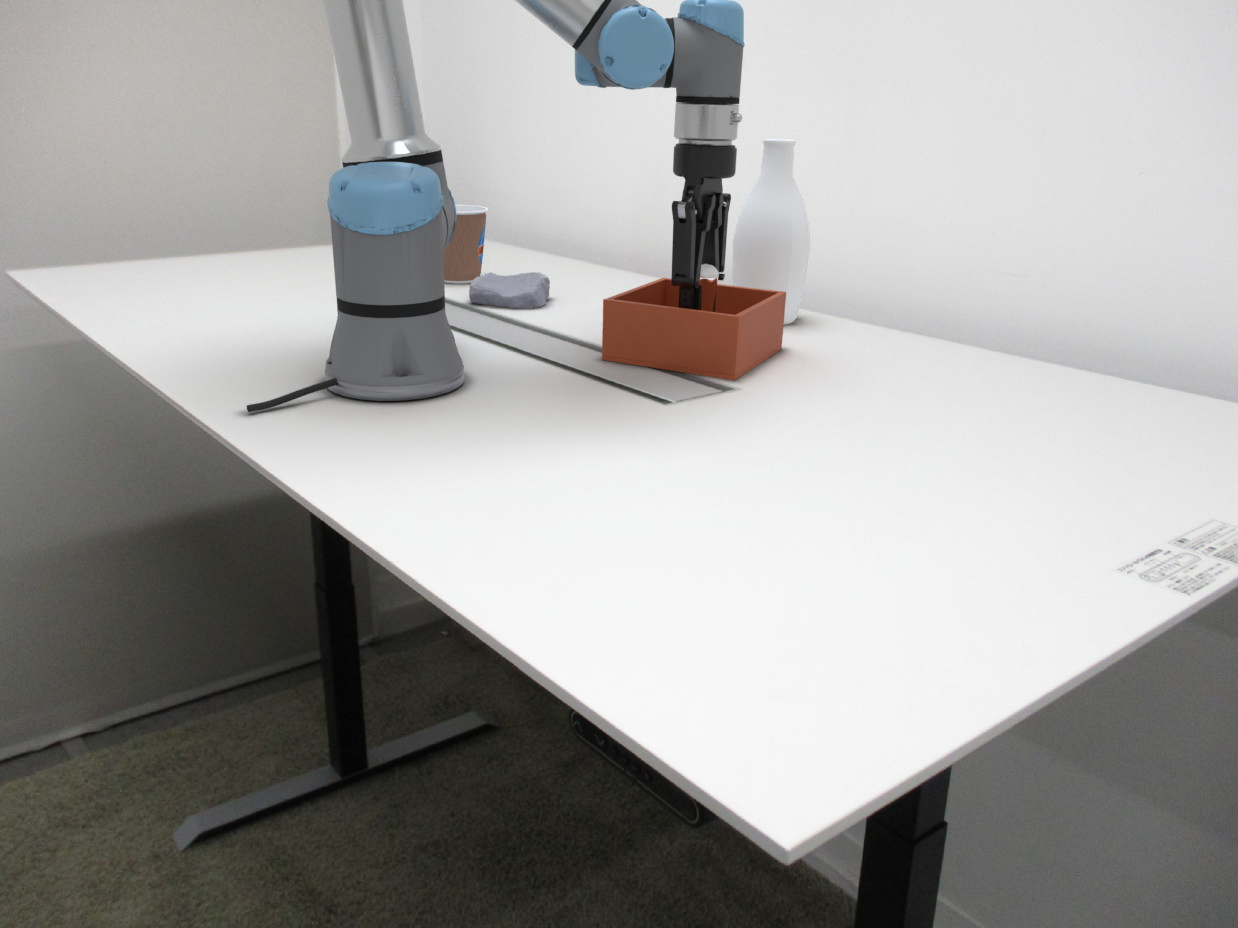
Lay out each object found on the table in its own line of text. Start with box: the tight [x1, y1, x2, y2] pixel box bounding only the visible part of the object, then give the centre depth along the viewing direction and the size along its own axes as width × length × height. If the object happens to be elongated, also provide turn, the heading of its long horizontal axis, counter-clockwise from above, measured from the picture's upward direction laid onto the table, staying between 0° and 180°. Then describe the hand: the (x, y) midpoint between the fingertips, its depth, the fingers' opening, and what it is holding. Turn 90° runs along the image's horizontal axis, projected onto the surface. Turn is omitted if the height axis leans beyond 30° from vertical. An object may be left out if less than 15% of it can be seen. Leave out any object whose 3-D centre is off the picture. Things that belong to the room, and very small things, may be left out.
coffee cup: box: [443, 204, 489, 285], centre depth 170 cm, size 10×10×12 cm
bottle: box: [731, 138, 811, 326], centre depth 145 cm, size 11×11×25 cm
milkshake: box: [698, 264, 720, 312], centre depth 127 cm, size 4×5×10 cm
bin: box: [601, 277, 786, 381], centre depth 128 cm, size 18×18×8 cm
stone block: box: [468, 271, 551, 310], centre depth 156 cm, size 12×5×10 cm
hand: (695, 334), depth 128 cm, fingers closed on milkshake, 4 cm apart
